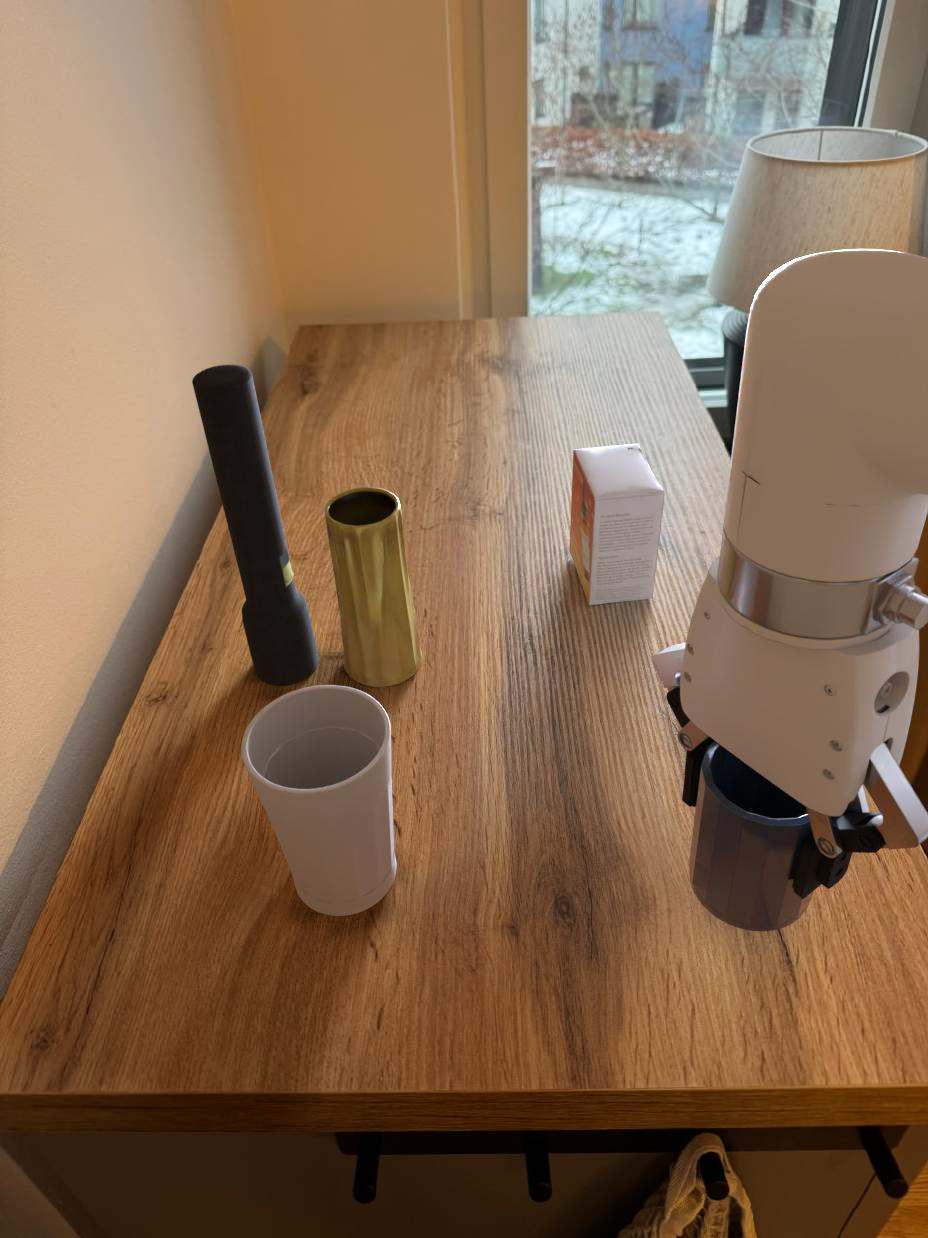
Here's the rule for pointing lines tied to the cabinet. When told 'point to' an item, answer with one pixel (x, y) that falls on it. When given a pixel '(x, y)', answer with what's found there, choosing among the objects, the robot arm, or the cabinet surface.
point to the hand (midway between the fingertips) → (758, 833)
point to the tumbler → (746, 845)
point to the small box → (615, 523)
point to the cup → (327, 793)
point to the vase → (373, 587)
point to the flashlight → (255, 527)
